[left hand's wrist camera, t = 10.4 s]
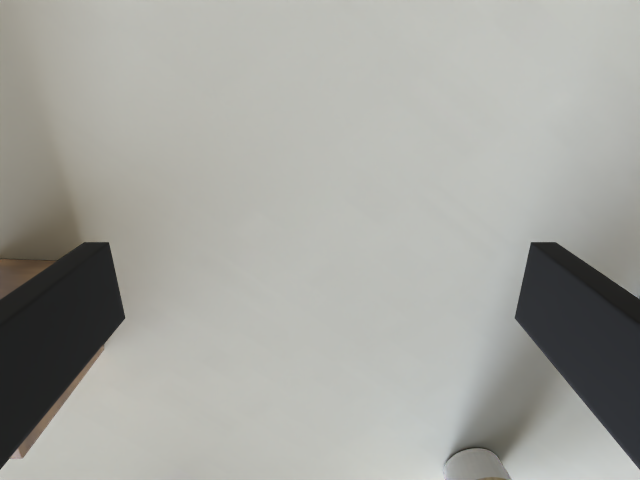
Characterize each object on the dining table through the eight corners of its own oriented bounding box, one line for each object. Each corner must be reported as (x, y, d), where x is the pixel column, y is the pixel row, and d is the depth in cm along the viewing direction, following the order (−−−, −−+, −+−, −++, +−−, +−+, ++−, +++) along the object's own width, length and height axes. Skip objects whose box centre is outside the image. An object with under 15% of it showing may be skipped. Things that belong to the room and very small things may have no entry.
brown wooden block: (87, 261, 33) (-16, 348, 22) (104, 349, 36) (22, 459, 26) (-9, 258, 32) (-157, 344, 22) (18, 347, 36) (-99, 457, 26)
